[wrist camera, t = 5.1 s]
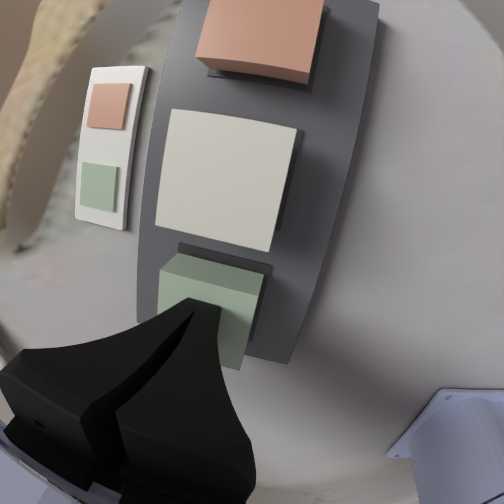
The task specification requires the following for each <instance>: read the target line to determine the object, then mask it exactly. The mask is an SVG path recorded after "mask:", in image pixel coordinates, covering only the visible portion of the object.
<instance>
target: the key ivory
mask: <svg viewBox="0 0 504 504" xmlns="http://www.w3.org/2000/svg"><path fill="white" fill-rule="evenodd" d="M296 133H297V129H294V128H290V127H285V126H280V125H276V124H271V123H266V122H261V121H255V120H250V119H244V118H238V117H232V116H226V115H219V114H212V113H205V112H197V111H189V110H180V109H172V110H171V116H170V121H169V127H168V132H167V138H166V144H165V150H164V157H163V164H162V171H161V178H160V186H159V194H158V202H157V211H156V221H155V225H157V226H161V227H165V228H169V229H174V230H178V231H182V232H186V233H190V234H194V235H199V236H203V237H207V238H211V239H215V240H219V241H223V242H228V243H232V244H236V245H240V246H244V247H248V248H252V249H257V250H261V251H265V252H269V249H270V245H271V242H272V238H273V234H274V230H275V226H276V221H277V217H278V213H279V208H280V204H281V200H282V196H283V191H284V187H285V182H286V178H287V174H288V169H289V165H290V160H291V156H292V151H293V147H294V142H295V138H296Z"/></svg>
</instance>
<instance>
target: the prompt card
mask: <svg viewBox="0 0 504 504" xmlns="http://www.w3.org/2000/svg"><path fill="white" fill-rule="evenodd" d="M148 70H149V67H147V66H118V67H100V68H92V72H91V77H90V82H89V86H88V91H87V97H86V102H85V108H84V114H83V121H82V128H81V136H80V144H79V154H78V165H77V179H76V201H75V218H76V219H80V220H83V221H87V222H91V223H95V224H99V225H102V226H106V227H110V228H114V229H118V230H122V231H123V230H124V229H126V225H127V210H128V197H129V187H130V177H131V168H132V160H133V152H134V145H135V138H136V132H137V126H138V120H139V114H140V109H141V103H142V98H143V93H144V88H145V84H146V79H147V75H148Z"/></svg>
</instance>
